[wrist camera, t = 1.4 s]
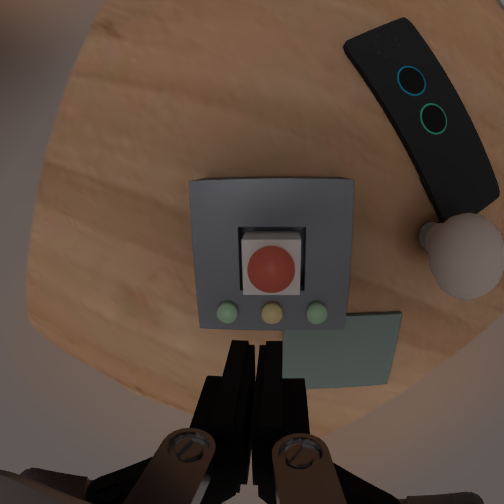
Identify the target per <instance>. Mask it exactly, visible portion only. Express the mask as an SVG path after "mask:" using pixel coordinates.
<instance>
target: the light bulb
mask: <svg viewBox="0 0 504 504" xmlns="http://www.w3.org/2000/svg"><path fill="white" fill-rule="evenodd" d="M419 242H420V244H421V246H422V247H423V248H425V249H426V250H427V252H428V254H429V260H430V269H431V271H432V273H433V275H434V277H435V279H436V281H437V282H438V284H439V286H440V288H441V289H442V290H444V291H445V292H447V293H448V294H449V295H451V296H453V297H455V298H457V299H463V300H473V299H475V298H478V297H480V296H483V295H485V294H488V293H489V292H490V291H491V290H492V289H493V288H494V287H495V286H496V285H497V284H498V283H499V281H500V279H501V277H502V275H503V272H504V241H503V239H502V236H501V234H500V231H499V229H498V228H497V227H496V226H495V225H494V224H493V223H492V222H491V221H489V220H488V219H486V218H485V217H484V216H482V215H478V214H474V213H462V214H459V215H456V216H452V217H450V218H449V219H447V220H446V221H445V222H444V223H436V222H428V223H426V224H425V225H423V226H422V228H421V230H420V232H419Z"/></svg>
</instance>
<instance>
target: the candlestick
mask: <svg viewBox="0 0 504 504" xmlns="http://www.w3.org/2000/svg"><path fill="white" fill-rule="evenodd" d="M497 2H498V3H499V5H500V6H501V8H502V9H503V10H504V0H497Z"/></svg>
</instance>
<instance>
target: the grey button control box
mask: <svg viewBox="0 0 504 504" xmlns="http://www.w3.org/2000/svg"><path fill="white" fill-rule="evenodd" d="M189 188H190V209H191V226H192V242H193V256H194V269H195V281H196V292H197V303H198V313H199V323H200V328H208V329H233V330H344V329H345V322H346V313H347V303H348V292H349V280H350V267H351V252H352V233H353V205H354V180H353V179H348V178H343V177H310V176H266V177H224V178H203V179H198V180H192V181H189ZM246 231H299V234H300V238H301V268H300V295H243V272H242V241H241V240H242V238H243V236H244V234H245V232H246Z"/></svg>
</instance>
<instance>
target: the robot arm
mask: <svg viewBox="0 0 504 504" xmlns="http://www.w3.org/2000/svg"><path fill="white" fill-rule="evenodd" d="M251 450H252V472H253V485H258V495H259V497H260V498H261V499H262V500H264V501H265V502H266V503H267V504H484V502H483V500H482V499H481V497H480V496H479V495H477V494H475V493H472V492H460V493H450V494H439V495H423V496H407V497H406V499H397V498H395V497H394V496H392V495H391V494H389V493H387V492H385V491H383V490H381V489H379V488H377V487H375V486H373V485H372V484H370V483H368V482H366V481H364V480H362V479H361V478H359V477H357V476H355V475H354V474H352V473H350V472H348V471H346V470H345V469H343V468H341V467H340V466H338V465H336V464H335V463H333V461H332V458H331V455H330V452H329V449H328V447H327V446H326V444H325V443H324V442H323V441H322V440H321V439H320V438H318V437H316V436H314V435H310V431H309V418H308V407H307V396H306V385H305V379H304V378H282V341H266V345H260V348H259V357H258V366H257V375H256V383H255V346H254V345H249V342H248V341H241V340H232V342H231V346H230V349H229V353H228V357H227V361H226V365H225V368H224V372H223V376H207V378H206V380H205V383H204V386H203V389H202V392H201V395H200V398H199V401H198V404H197V407H196V410H195V413H194V416H193V419H192V422H191V425H190V428H183V429H179V430H176V431H174V432H172V433H170V434H169V435H167V437H166V438H165V439H164V440H163V441H162V443H161V445H160V446H159V448H158V449H157V451H156V452H155V454H154V456H153V457H151V458H148V459H146V460H143V461H141V462H139V463H136V464H133V465H131V466H128V467H126V468H123V469H121V470H118V471H115V472H112V473H110V474H107V475H104V476H101V477H99V478H97V479H95V480H89V479H88V477H85V476H78V475H72V474H65V473H59V472H54V471H49V470H44V469H40V468H29V469H26V470H24V471H23V472H22V473H21V474H20V475H19V474H16V473H12V472H9V471H5V470H0V504H225V503H226V500H228V499H230V498H231V497H233V496H235V495H236V493H239V492H240V485H241V484H246V485H247V481H248V473H249V465H250V456H251Z"/></svg>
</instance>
